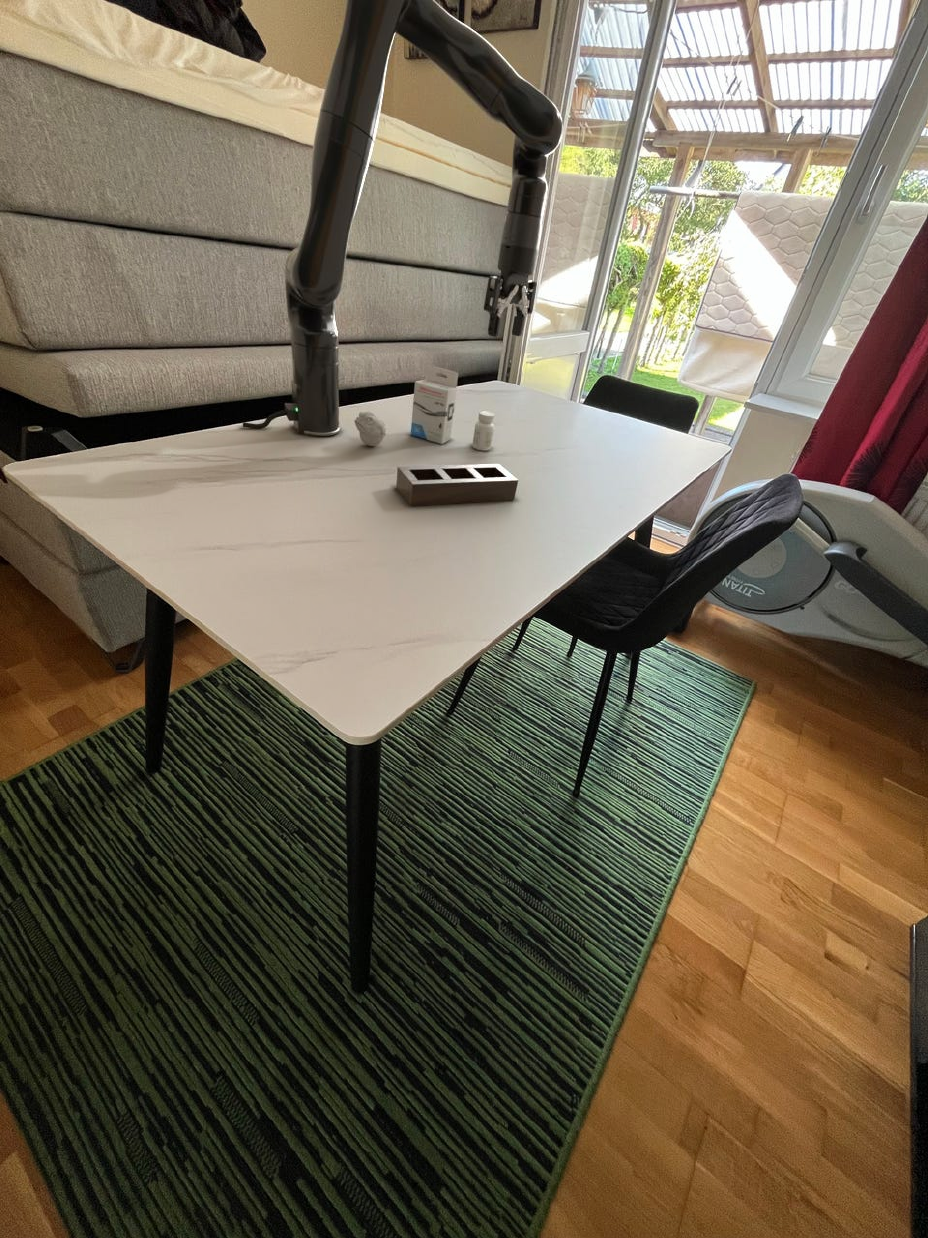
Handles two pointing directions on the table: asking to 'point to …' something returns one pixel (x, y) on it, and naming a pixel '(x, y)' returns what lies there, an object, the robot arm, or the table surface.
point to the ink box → (434, 405)
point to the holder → (455, 484)
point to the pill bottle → (483, 431)
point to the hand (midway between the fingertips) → (504, 335)
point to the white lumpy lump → (370, 428)
